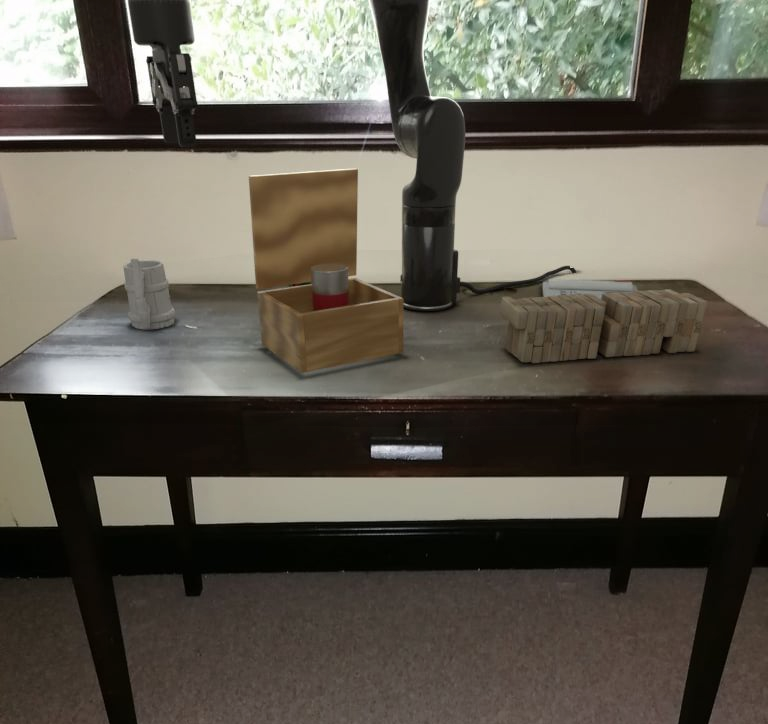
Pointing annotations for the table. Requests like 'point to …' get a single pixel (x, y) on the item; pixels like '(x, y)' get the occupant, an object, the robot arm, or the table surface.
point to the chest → (331, 326)
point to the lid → (302, 224)
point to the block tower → (602, 325)
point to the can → (329, 286)
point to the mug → (148, 295)
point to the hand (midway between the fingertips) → (180, 145)
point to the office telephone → (585, 287)
